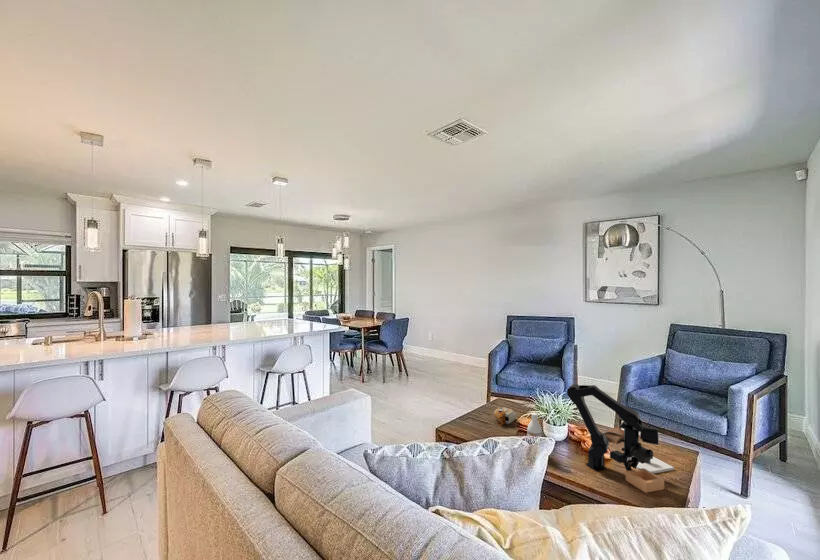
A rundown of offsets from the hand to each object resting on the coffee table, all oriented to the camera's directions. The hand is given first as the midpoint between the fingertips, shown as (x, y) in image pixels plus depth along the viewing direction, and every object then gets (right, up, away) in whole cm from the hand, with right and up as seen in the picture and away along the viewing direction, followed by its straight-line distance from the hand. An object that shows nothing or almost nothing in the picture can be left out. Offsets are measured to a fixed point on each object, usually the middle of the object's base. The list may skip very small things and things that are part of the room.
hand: (630, 473), depth 169 cm
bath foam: (-36, -1, +22) cm, 42 cm away
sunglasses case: (+16, -2, +40) cm, 43 cm away
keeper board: (+14, -1, +10) cm, 17 cm away
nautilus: (-43, -1, +61) cm, 75 cm away
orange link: (+1, -1, -5) cm, 5 cm away
